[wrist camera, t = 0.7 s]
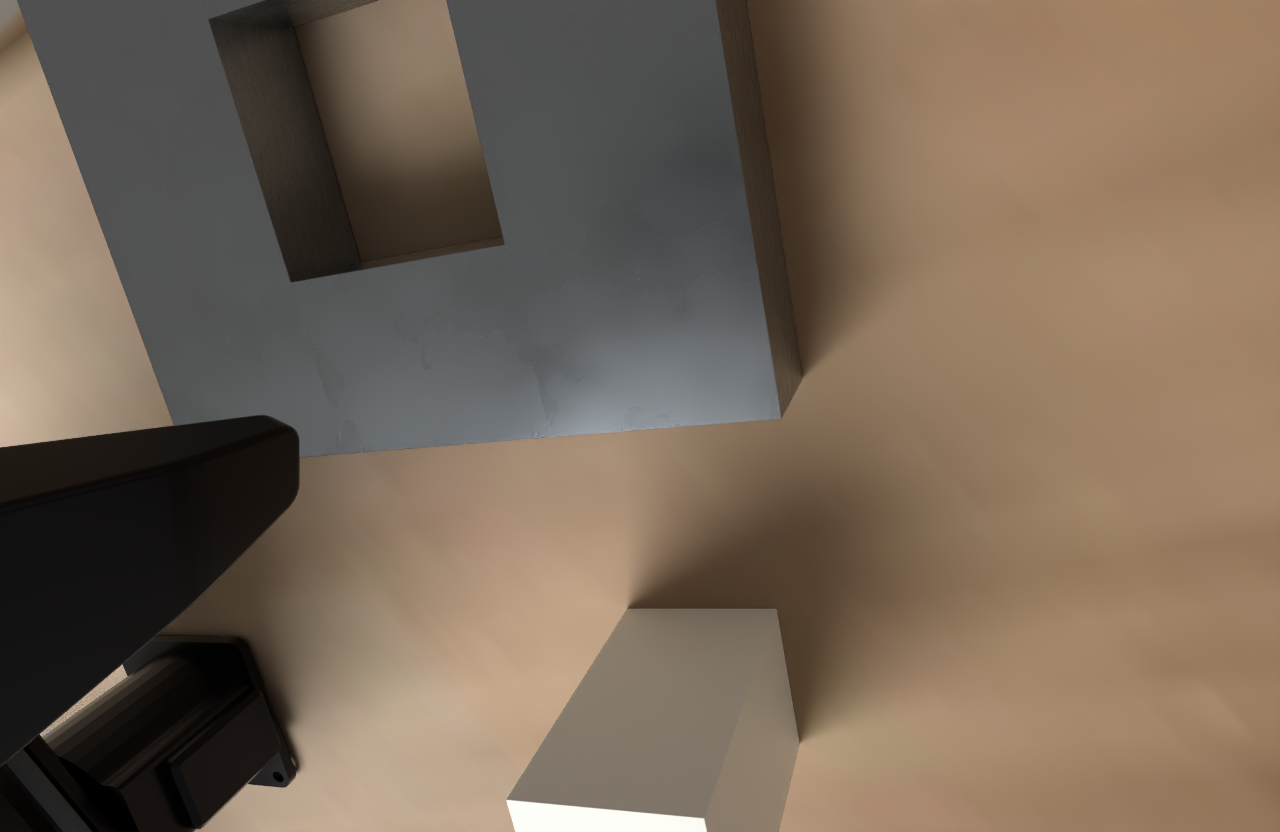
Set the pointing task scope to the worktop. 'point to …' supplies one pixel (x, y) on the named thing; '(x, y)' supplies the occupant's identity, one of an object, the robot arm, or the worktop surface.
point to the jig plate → (449, 276)
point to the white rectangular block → (670, 731)
